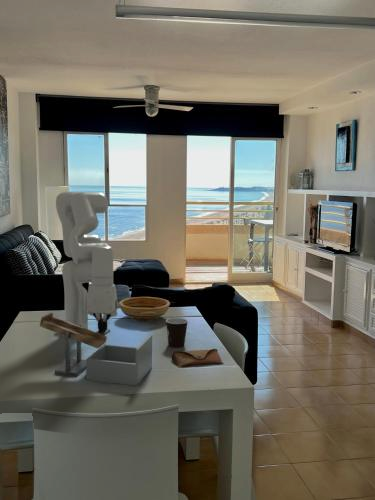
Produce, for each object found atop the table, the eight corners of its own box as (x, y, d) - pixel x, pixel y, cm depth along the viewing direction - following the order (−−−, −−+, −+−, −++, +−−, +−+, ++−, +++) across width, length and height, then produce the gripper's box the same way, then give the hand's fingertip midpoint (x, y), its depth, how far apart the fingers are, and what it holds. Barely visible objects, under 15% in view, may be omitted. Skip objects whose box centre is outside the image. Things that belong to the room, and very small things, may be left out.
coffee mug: (184, 349, 189) (185, 324, 188) (163, 347, 191) (163, 322, 190) (190, 340, 201) (191, 317, 199) (170, 338, 202) (170, 315, 201)
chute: (39, 326, 164) (41, 317, 164) (62, 313, 180) (64, 305, 180) (98, 348, 160) (100, 339, 160) (116, 334, 176) (118, 326, 176)
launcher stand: (54, 373, 162) (54, 332, 160) (70, 361, 174) (70, 323, 172) (76, 376, 160) (76, 335, 158) (91, 363, 172) (91, 325, 170)
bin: (86, 379, 158) (86, 344, 156) (104, 363, 173) (104, 330, 171) (137, 385, 154) (138, 349, 152) (151, 368, 169) (152, 335, 167)
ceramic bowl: (116, 311, 244) (116, 296, 243) (164, 310, 249) (164, 294, 248) (121, 328, 215) (121, 311, 214) (175, 326, 220) (175, 309, 219)
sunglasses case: (177, 367, 170) (175, 349, 172) (172, 371, 176) (170, 353, 178) (225, 363, 175) (222, 345, 178) (219, 367, 181) (216, 349, 184)
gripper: (78, 281, 168) (78, 332, 171) (118, 284, 165) (118, 336, 167) (87, 277, 176) (87, 326, 178) (126, 280, 172) (126, 330, 175)
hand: (102, 331), depth 173 cm, fingers closed
